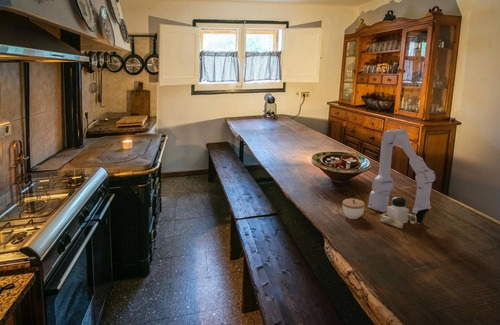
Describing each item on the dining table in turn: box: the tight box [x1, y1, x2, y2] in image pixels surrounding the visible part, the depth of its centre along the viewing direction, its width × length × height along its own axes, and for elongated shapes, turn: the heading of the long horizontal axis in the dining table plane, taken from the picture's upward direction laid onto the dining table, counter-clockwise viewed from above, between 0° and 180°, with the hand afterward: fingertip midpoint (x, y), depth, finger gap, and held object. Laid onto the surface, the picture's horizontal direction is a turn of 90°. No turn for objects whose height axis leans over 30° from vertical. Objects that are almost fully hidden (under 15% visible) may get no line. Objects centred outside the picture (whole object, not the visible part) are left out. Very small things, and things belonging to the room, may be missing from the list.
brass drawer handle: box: [409, 213, 417, 225], centre depth 165 cm, size 12×3×3 cm, turn 141°
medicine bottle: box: [386, 196, 410, 224], centre depth 169 cm, size 7×7×12 cm
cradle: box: [379, 211, 415, 229], centre depth 170 cm, size 11×12×3 cm
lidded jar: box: [342, 198, 365, 220], centre depth 174 cm, size 11×11×9 cm
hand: (419, 222), depth 162 cm, fingers closed, pressing on brass drawer handle
